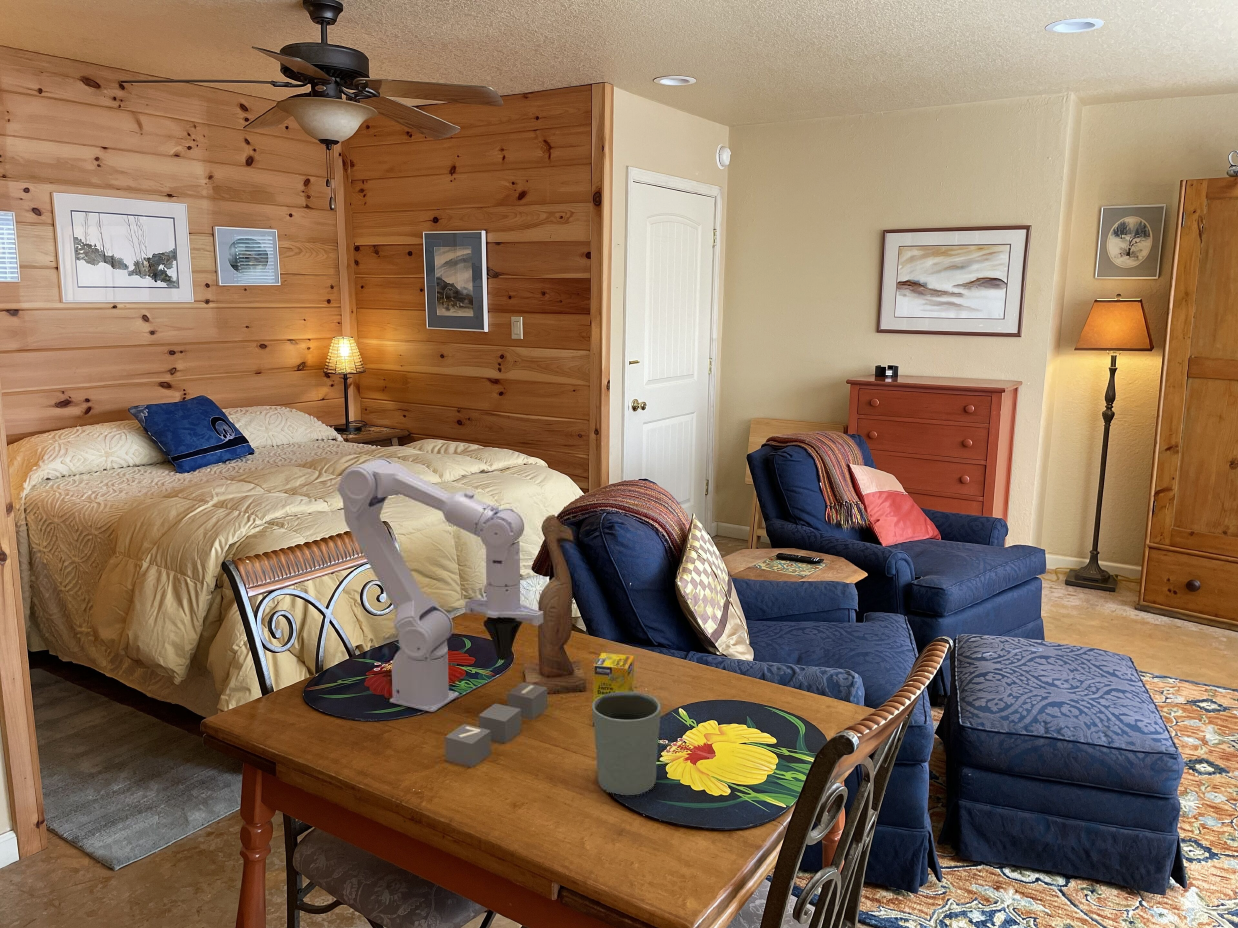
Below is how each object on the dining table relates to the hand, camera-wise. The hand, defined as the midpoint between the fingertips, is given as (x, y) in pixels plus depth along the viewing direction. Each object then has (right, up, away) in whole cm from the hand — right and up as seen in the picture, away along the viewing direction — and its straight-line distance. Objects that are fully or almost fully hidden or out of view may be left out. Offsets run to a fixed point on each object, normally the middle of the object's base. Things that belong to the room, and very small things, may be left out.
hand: (503, 657), depth 158 cm
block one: (+4, -10, +1) cm, 10 cm away
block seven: (-4, -12, -15) cm, 20 cm away
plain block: (0, -11, -8) cm, 13 cm away
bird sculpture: (+8, -8, +13) cm, 17 cm away
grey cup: (+21, -14, -22) cm, 33 cm away
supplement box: (+19, -10, -2) cm, 22 cm away
